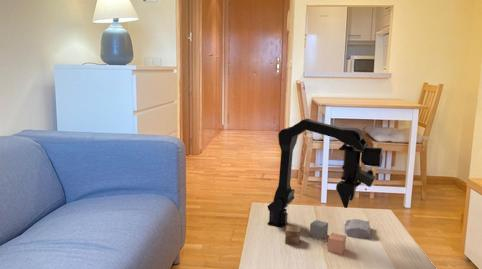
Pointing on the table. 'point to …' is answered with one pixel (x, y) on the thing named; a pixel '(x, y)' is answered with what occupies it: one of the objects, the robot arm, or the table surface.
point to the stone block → (358, 228)
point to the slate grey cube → (319, 229)
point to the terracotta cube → (336, 243)
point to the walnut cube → (292, 235)
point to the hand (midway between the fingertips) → (348, 203)
